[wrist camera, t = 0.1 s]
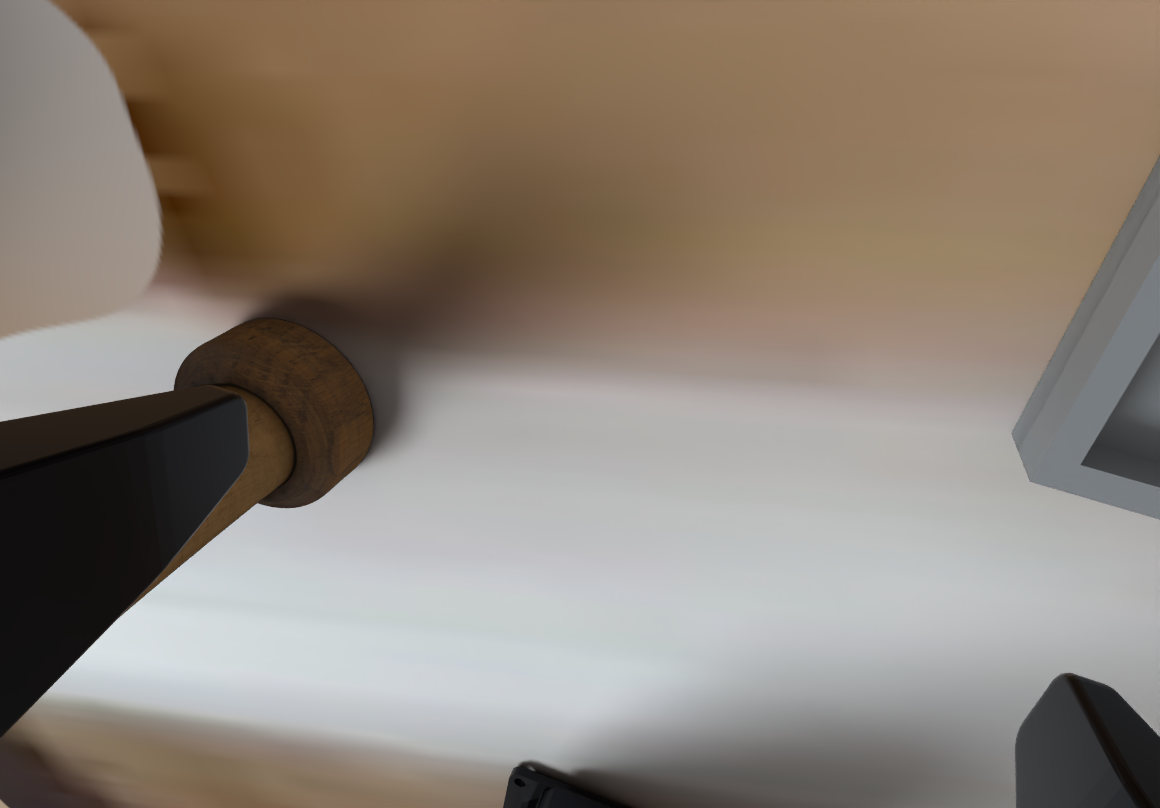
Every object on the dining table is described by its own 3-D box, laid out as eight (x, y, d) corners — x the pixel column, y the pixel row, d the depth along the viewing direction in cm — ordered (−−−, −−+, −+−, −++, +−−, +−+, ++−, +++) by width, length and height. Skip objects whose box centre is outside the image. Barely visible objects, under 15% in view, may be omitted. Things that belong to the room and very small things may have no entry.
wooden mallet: (361, 326, 26) (-331, 787, 11) (386, 488, 29) (-129, 1032, 14) (198, 308, 28) (-597, 683, 12) (237, 463, 31) (-367, 920, 15)
